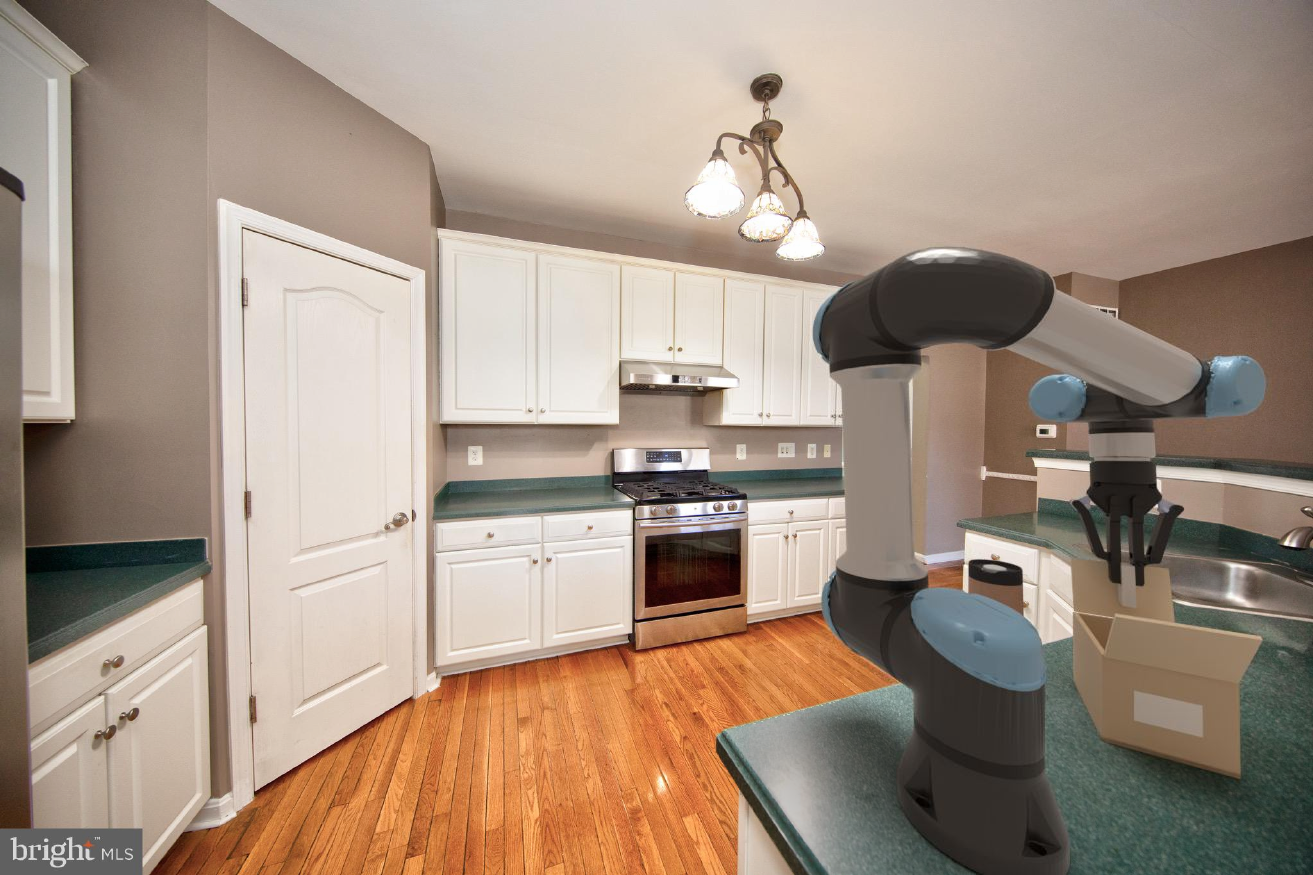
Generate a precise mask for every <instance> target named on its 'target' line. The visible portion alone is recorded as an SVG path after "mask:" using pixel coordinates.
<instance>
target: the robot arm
mask: <svg viewBox="0 0 1313 875" xmlns="http://www.w3.org/2000/svg"><path fill="white" fill-rule="evenodd" d="M812 341H813V345H814V348H815V350H816V352H817V354H820V355H821V359H822V360H823V362H825V363H826V364H828V366H829V367H828V368H829V378H830V379H832V380H833V381H834V382H835V383H836V384H837V385H839V387H840V389H841V391H840V392H841V393H840V394H841V419H842V420H841V421H842V422H841V424H842V425H841V426H842V451H843V452H842V453H843V454H842V455H843V457H842V458H843V479H844V480H843V483H844V509H845V510H844V514H845V542H846V543H845V544H846V545H845V546H846V548H845V549H846V550H845V551H844V553H843V554H841V556H839V557H838V558H837V559H836V560H835V570H833V572H831V573H830V575H829V576H828V578H829V580H828V581H827V582H825V583H824V584H823V588H822V591H821V596H820V599H821V611H822V615H823V618H824V621H825V623H826V624H827V627H828V628H829V630H830V632H832V633H833V635H834V636H835V637H836V638H837V639H838V640H840V641H841V642H842V643H843V645H844V646H846V647H847V648H849V649H850V650H851V652H853V653H855V654H856V655H858V656H861V657H862V658H864V659H865V660H867V661H868V662H870V663H871V664H873V665H875V666H876V667H878V668H879V669H880V670H882V671H883V672H884V673H886V674H887V675H889V676H890V677H892V678H894V679H895V680H896V681H898V682H899V683H900V684H902V685H904V686H905V687H906V688H908V689H909V690H910V691H911V692H912V695H913V728H912V730H911V733H910V736H909V738H908V741H907V743H906V746H905V748H904V751H903V753H902V755H901V758H900V760H899V763H898V766H897V770H896V771H897V772H896V792H897V798H898V802H899V804H900V807H901V809H902V811H903V813H904V814H905V816H906V817H907V819H908V821H909V822H910V823H911V824H912V825H913V826H914V828H915V829H916V830H917V831H918V832H919V833H920V834H921V835H922V836H923V837H925V839H926V840H927V841H928V842H929V843H930V844H932V845H933V846H934V847H936V848H937V849H938V850H939V851H941V852H942V853H943V854H945V855H946V856H948V857H949V858H951V859H953V860H955V861H956V862H958V863H959V864H961V865H963V866H964V867H966V868H969V869H970V870H972V871H975V872H977V873H978V874H981V875H1067V873H1068V872H1069V869H1070V866H1071V863H1070V862H1071V856H1070V855H1071V854H1070V853H1071V852H1070V851H1071V850H1070V849H1071V848H1070V847H1071V846H1070V845H1071V844H1070V837H1069V836H1070V835H1069V832H1068V829H1067V826H1066V822H1065V820H1064V817H1063V814H1062V812H1061V810H1060V807H1059V804H1058V802H1057V798H1056V797H1055V794H1054V791H1053V789H1052V786H1051V783H1050V781H1049V778H1048V775H1047V773H1046V753H1045V752H1046V743H1045V742H1046V733H1045V732H1046V716H1045V715H1046V711H1045V710H1046V699H1045V698H1046V697H1045V696H1046V695H1045V693H1046V692H1045V690H1046V687H1045V686H1046V682H1047V677H1048V674H1047V673H1048V672H1047V671H1048V670H1047V667H1046V664H1045V660H1044V651H1043V640H1042V638H1041V637H1040V634H1039V631H1038V630H1037V628H1036V626H1034V625H1033V623H1032V622H1030V621H1029V620H1028V619H1027V618H1026V616H1025V615H1024V616H1023V615H1021V614H1020V613H1018V612H1017V611H1015V610H1014V609H1012V608H1010V607H1008V606H1006V605H1004V604H1002V603H1000V602H997V601H995V600H993V599H990V598H988V597H985V596H982V595H979V594H975V593H974V594H969V593H968V592H966V591H965V590H962V589H958V588H950V587H939V586H938V587H930V586H929V569H928V568H927V567H926V565H924V564H923V562H921V561H920V560H919V559H918V558H917V556H916V555H915V554H916V553H915V532H914V531H915V530H914V529H915V528H914V527H915V526H914V525H915V524H914V522H915V521H914V501H913V500H914V498H913V496H914V495H913V494H914V493H913V469H912V468H913V467H912V438H911V437H912V436H911V410H910V409H911V405H910V404H911V402H910V382H911V380H912V379H914V377H915V376H916V375H917V374H918V373H919V372H920V371H921V370H922V349H923V350H924V349H926V348H930V347H933V346H937V345H950V344H964V345H965V344H968V345H972V346H975V347H977V348H979V349H982V350H985V351H1000V350H1005V349H1006V350H1008V351H1010V352H1013V353H1016V354H1018V355H1020V356H1023V357H1025V358H1026V359H1030V360H1032V361H1035V362H1037V363H1039V364H1042V365H1045V366H1047V367H1049V368H1051V369H1054V370H1056V371H1059V372H1061V373H1064V374H1051V375H1048V376H1045V377H1043V378H1041V379H1040V380H1038V381H1037V382H1036V383H1035V384H1034V385H1033V386H1032V387H1031V389H1030V392H1029V395H1028V405H1029V408H1030V410H1031V412H1032V413H1033V415H1035V416H1036V417H1037V418H1039V419H1041V420H1043V421H1046V422H1047V421H1048V422H1056V423H1057V424H1062V423H1065V424H1066V423H1079V424H1081V423H1087V426H1088V428H1087V429H1088V455H1089V456H1088V457H1090V458H1093V460H1094V461H1093V460H1091V461H1090V462H1089V464H1088V465H1089V487H1088V489H1087V490H1086V492H1085V493H1086V494H1085V495H1082V496H1081V497H1079V498H1076V499H1075V498H1073V499H1071V500H1069V504H1070V506H1071V507H1072V508H1073V509H1074V510H1075V512H1076V513H1077V514H1078V517H1079V519H1080V520H1079V521H1080V523H1081V525H1082V528H1083V532H1084V534H1085V536H1086V539H1087V542H1088V544H1089V548H1090V550H1091V553H1092V555H1094V556H1095V557H1097V558H1098V559H1101V560H1102V561H1105V562H1108V576H1109V579H1110V581H1111V582H1112V583H1117V584H1118V602H1119V603H1120V604H1121V605H1123V606H1126V607H1134V608H1137V607H1136V586H1144V584H1145V580H1144V567H1145V566H1149V565H1159V564H1161V563H1162V561H1163V557H1164V554H1165V551H1166V549H1167V545H1168V542H1169V539H1170V535H1171V532H1172V529H1173V527H1174V523H1175V520H1176V519H1177V518H1178V517H1180V515H1181V514H1182V513H1183V512H1184V510H1185V507H1184V506H1183V505H1180V504H1177V503H1173V502H1172V501H1169V500H1167V499H1164V498H1163V494H1162V493H1161V492H1160V491H1159V489H1158V479H1157V477H1158V476H1157V463H1155V461H1151V458H1153V459H1154V458H1155V457H1156V456H1157V455H1156V439H1155V438H1156V437H1155V428H1154V420H1184V419H1185V420H1186V419H1189V420H1190V419H1191V420H1192V419H1207V420H1211V419H1214V418H1223V417H1224V418H1225V417H1240V416H1245V415H1248V414H1250V413H1253V412H1254V411H1255V410H1257V409H1258V408H1259V407H1260V405H1261V404H1262V402H1263V400H1264V398H1265V393H1266V390H1267V380H1266V375H1265V372H1264V369H1263V367H1262V366H1261V365H1260V364H1259V362H1258V361H1256V359H1254V358H1251V357H1249V356H1246V355H1233V356H1221V355H1219V356H1214V357H1212V358H1199V357H1198V356H1196V355H1194V354H1191V353H1189V352H1188V351H1185V350H1183V349H1182V348H1179V347H1177V346H1175V345H1174V344H1171V343H1170V342H1169V343H1168V342H1167V341H1165V340H1162V339H1161V338H1158V337H1157V336H1154V335H1152V334H1151V333H1148V332H1146V331H1144V330H1142V329H1140V328H1138V327H1135V326H1134V325H1131V324H1129V323H1127V322H1125V321H1123V320H1121V319H1119V318H1117V317H1115V316H1112V315H1110V314H1109V313H1106V312H1104V311H1102V310H1100V309H1099V308H1096V307H1094V306H1091V305H1089V304H1088V303H1085V302H1083V301H1082V300H1079V299H1077V298H1075V297H1073V296H1071V295H1069V294H1067V293H1065V292H1063V291H1061V290H1058V289H1057V285H1056V283H1055V279H1054V278H1053V276H1051V275H1050V273H1048V272H1047V271H1046V270H1043V269H1041V268H1039V267H1036V266H1035V265H1033V264H1031V263H1028V262H1025V261H1023V260H1020V259H1018V258H1015V257H1013V256H1008V255H1005V254H1003V253H1000V252H999V253H998V252H993V251H989V250H983V249H977V248H972V247H964V246H963V247H962V246H933V247H931V246H930V247H926V248H921V249H918V250H914V251H910V252H908V253H906V254H904V255H901V256H900V257H897V258H896V259H894V260H893V261H892V262H889V263H888V264H886V265H884V266H882V267H880V268H878V269H876V270H875V271H872V272H870V273H868V274H867V275H865V276H863V277H861V278H859V279H857V280H853V281H851V282H849V283H847V284H845V285H843V286H842V287H840V288H839V289H838V290H836V292H834V293H832V294H831V295H830V296H829V297H827V298H826V299H825V300H824V302H823V303H822V304H821V305H820V307H819V308H818V310H817V312H816V314H815V317H814V320H813V325H812ZM1091 502H1092V503H1093V504H1094V505H1095V506H1096V507H1097V508H1098V509H1099V510H1100V511H1101V512H1102V513H1103V514H1104V519H1105V520H1104V521H1105V536H1106V537H1105V539H1106V540H1105V542H1106V551H1105V548H1104V546H1103V543H1102V541H1101V538H1100V535H1099V533H1098V530H1097V528H1096V527H1097V526H1096V524H1095V522H1094V519H1093V517H1092V514H1091V512H1090V511H1089V510H1091V508H1092V506H1091ZM1156 506H1157V509H1156V510H1157V512H1158V513H1159V514H1158V515H1157V516H1156V520H1155V523H1154V526H1153V529H1152V532H1151V536H1150V539H1149V542H1148V546H1147V549H1146V550H1145V538H1144V537H1145V535H1144V533H1145V532H1144V524H1145V517H1144V516H1146V515H1147V514H1148V513H1150V511H1152V510H1153V509H1154V507H1156ZM1122 517H1125V518H1126V521H1127V540H1128V560H1129V562H1122V537H1121V533H1122V532H1121V521H1122Z"/></svg>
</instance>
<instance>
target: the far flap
mask: <svg viewBox="0 0 1313 875" xmlns="http://www.w3.org/2000/svg"><path fill="white" fill-rule="evenodd" d="M1069 559H1070V570H1071V571H1070V572H1071V574H1070V575H1071V589H1072V590H1071V591H1072V601H1073V602H1072V605H1073V612H1077V613H1084V614H1090V615H1096V616H1102V617H1108V618H1114V615H1115V614H1122V615H1128V616H1134V617H1141V618H1147V619H1154V620H1160V621H1166V622H1173V623H1176V622H1175V621H1176V620H1175V614H1174V613H1175V612H1174V603H1173V594H1172V593H1173V592H1172V585H1171V576H1170V569H1169V568H1167V567H1166V568H1165V567H1157V566H1149V565H1146V566H1145V567H1144V580H1145V584H1144V586H1136V607H1137V608H1134V607H1126V606H1123V605H1121V604H1120V603H1119V602H1118V584H1117V583H1112V582H1111V581H1110V579H1109V576H1108V562H1107V561H1105V560H1102V561H1101V560H1093V559H1086V558H1084V559H1083V558H1076V557H1074V558H1073V557H1070V558H1069Z"/></svg>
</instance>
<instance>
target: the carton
mask: <svg viewBox="0 0 1313 875" xmlns="http://www.w3.org/2000/svg"><path fill="white" fill-rule="evenodd" d="M1112 622H1113V618H1112V617H1106V616H1100V615H1093V614H1087V613H1081V612H1075V611H1072V649H1073V650H1072V651H1073V652H1072V655H1073V658H1072V662H1073V663H1072V666H1073V668H1072V671H1073V676H1072V677H1073V684H1074V685H1075V687H1076V689H1077V691H1078V693H1079V695H1080V698H1081V700H1082V702H1083V704H1084V706H1085V708H1086V710H1087V713H1088V714H1089V716H1090V718H1091V720H1092V722H1093V724H1094V726H1095V728H1096V730H1097V732H1098V734H1099V737H1100V739H1101V741H1102V742H1104V743H1108V744H1111V745H1115V746H1119V747H1121V748H1126V749H1129V750H1133V751H1136V752H1140V753H1144V754H1148V755H1150V756H1154V757H1158V758H1161V759H1165V760H1169V761H1173V762H1177V763H1179V764H1180V763H1181V764H1184V765H1186V766H1190V767H1195V768H1198V769H1201V770H1205V771H1209V772H1212V773H1216V774H1220V775H1223V776H1226V777H1230V778H1234V779H1236V780H1237V779H1238V780H1241V779H1242V777H1241V772H1242V771H1241V770H1242V769H1241V768H1242V767H1241V712H1240V711H1241V710H1240V709H1241V706H1240V704H1241V703H1240V683H1239V684H1237V683H1232V682H1227V681H1222V680H1217V679H1212V678H1207V677H1202V676H1197V675H1192V674H1187V673H1182V672H1177V671H1172V670H1167V669H1162V668H1157V667H1152V666H1147V665H1141V664H1136V663H1131V662H1126V661H1121V660H1116V659H1111V658H1106V657H1105V656H1104V652H1105V648H1106V644H1107V641H1108V637H1109V633H1110V630H1111V626H1112Z"/></svg>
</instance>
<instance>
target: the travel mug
mask: <svg viewBox="0 0 1313 875" xmlns="http://www.w3.org/2000/svg"><path fill="white" fill-rule="evenodd" d="M967 566H968V569H967V570H968V572H967V573H968V579H967V580H968V581H967V582H968V585H967V586H968V588H967V589H968V591H967V593H969V594H974V593H975V594H979V595H982V596H985V597H988V598H990V599H993V600H995V601H997V602H1000V603H1002V604H1004V605H1006V606H1008V607H1010V608H1012V609H1014V610H1015V611H1017V612H1018V613H1020V614H1021V615H1023V616H1024V617H1025V614H1024V609H1025V608H1024V572H1023V568H1022V567H1021V566H1019V565H1017V564H1014V563H1011V562H1006V561H1001V560H994V559H986V558H984V559H983V558H981V559H980V558H978V559H976V558H975V559H971V560H968V565H967Z"/></svg>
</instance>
